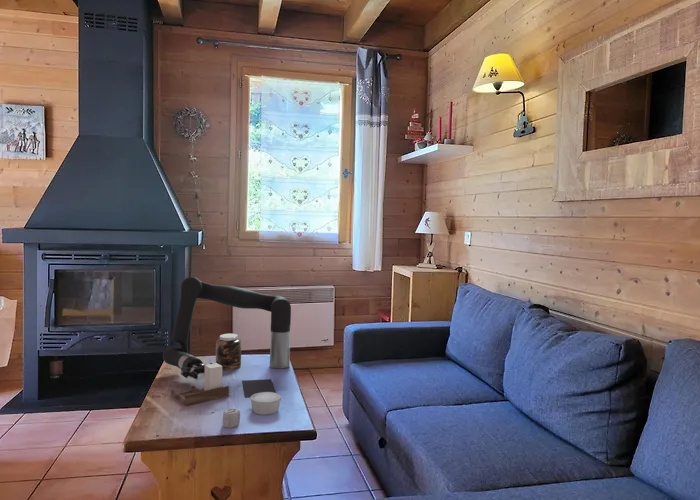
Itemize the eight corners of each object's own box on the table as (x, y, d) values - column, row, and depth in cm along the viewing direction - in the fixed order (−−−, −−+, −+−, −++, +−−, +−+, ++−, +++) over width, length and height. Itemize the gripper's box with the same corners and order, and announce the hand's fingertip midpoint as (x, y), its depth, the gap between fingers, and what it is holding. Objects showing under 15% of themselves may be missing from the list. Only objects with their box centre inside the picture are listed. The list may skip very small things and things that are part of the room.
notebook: (241, 384, 221) (244, 401, 201) (241, 380, 221) (244, 397, 201) (271, 382, 225) (277, 399, 204) (271, 378, 224) (277, 395, 204)
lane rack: (171, 397, 201) (171, 385, 201) (212, 388, 212) (212, 377, 212) (186, 408, 191) (186, 395, 190) (228, 398, 202) (228, 386, 202)
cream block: (204, 395, 202) (204, 365, 202) (216, 392, 206) (216, 363, 205) (209, 398, 199) (210, 368, 198) (221, 396, 202) (222, 366, 201)
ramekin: (251, 404, 197) (252, 391, 196) (281, 404, 198) (281, 391, 197) (248, 416, 185) (248, 402, 185) (279, 416, 186) (280, 402, 186)
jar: (215, 363, 248) (216, 332, 247) (240, 362, 250) (241, 332, 249) (215, 371, 236) (215, 338, 235) (241, 369, 239) (241, 338, 238)
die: (222, 427, 175) (222, 413, 175) (225, 421, 180) (225, 407, 180) (236, 428, 175) (237, 413, 175) (239, 422, 180) (240, 408, 180)
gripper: (174, 358, 213) (190, 368, 201) (206, 353, 222) (223, 362, 210) (174, 376, 213) (190, 387, 201) (206, 370, 223) (223, 380, 210)
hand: (207, 374), depth 205 cm, fingers open, 8 cm apart
